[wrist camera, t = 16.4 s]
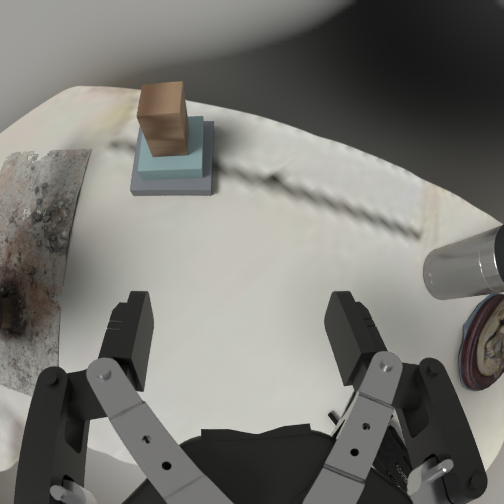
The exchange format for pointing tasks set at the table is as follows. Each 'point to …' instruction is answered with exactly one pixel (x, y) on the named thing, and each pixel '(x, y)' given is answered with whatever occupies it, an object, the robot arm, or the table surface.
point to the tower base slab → (177, 185)
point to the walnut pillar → (164, 118)
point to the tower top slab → (175, 157)
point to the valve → (34, 259)
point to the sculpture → (483, 345)
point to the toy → (390, 456)
